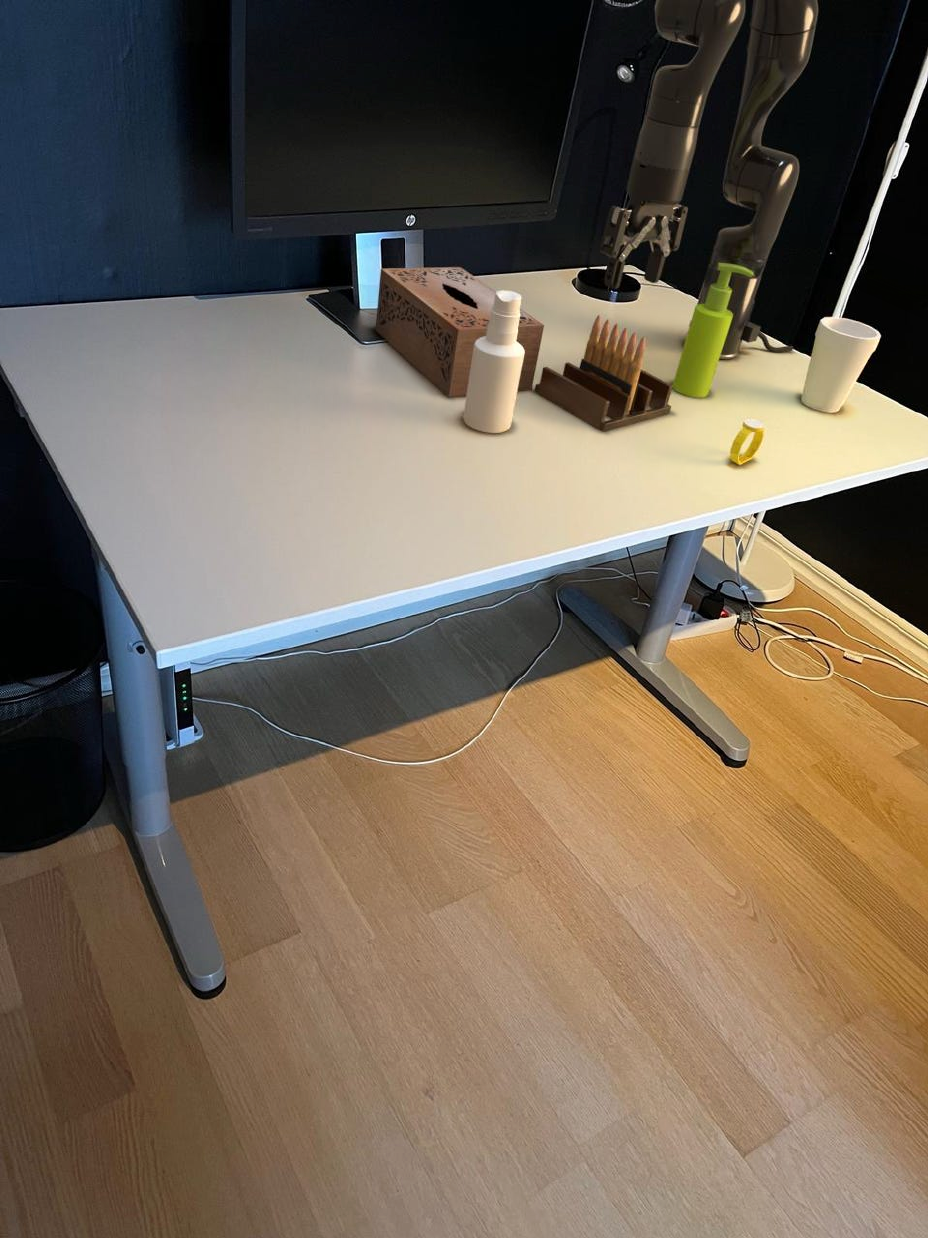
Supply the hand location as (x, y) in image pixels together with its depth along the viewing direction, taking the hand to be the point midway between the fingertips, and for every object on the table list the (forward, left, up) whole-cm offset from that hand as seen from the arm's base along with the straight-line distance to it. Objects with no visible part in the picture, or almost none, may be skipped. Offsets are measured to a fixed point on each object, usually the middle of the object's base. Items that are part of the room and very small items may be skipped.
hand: (631, 283), depth 131 cm
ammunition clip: (0, 0, -18) cm, 18 cm away
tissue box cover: (+12, -22, -18) cm, 31 cm away
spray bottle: (+22, -2, -18) cm, 29 cm away
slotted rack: (0, 0, -18) cm, 18 cm away
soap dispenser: (-19, +3, -18) cm, 26 cm away
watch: (-5, +23, -18) cm, 30 cm away
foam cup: (-37, +16, -18) cm, 44 cm away
